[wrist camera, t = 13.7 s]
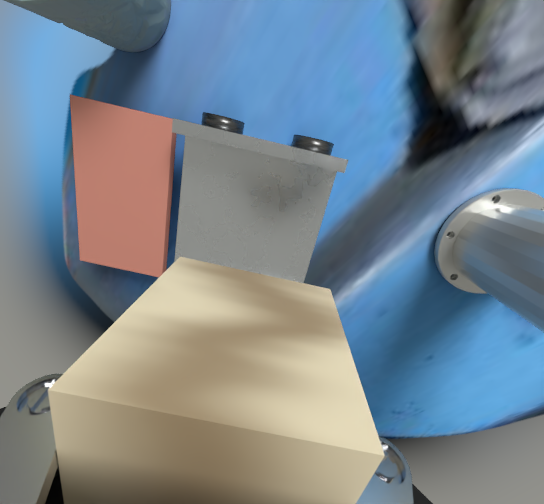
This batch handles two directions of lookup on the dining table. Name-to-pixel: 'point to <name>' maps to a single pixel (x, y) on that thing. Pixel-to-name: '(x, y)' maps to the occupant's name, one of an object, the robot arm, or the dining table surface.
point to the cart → (252, 198)
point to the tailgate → (122, 185)
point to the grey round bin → (108, 19)
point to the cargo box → (216, 398)
